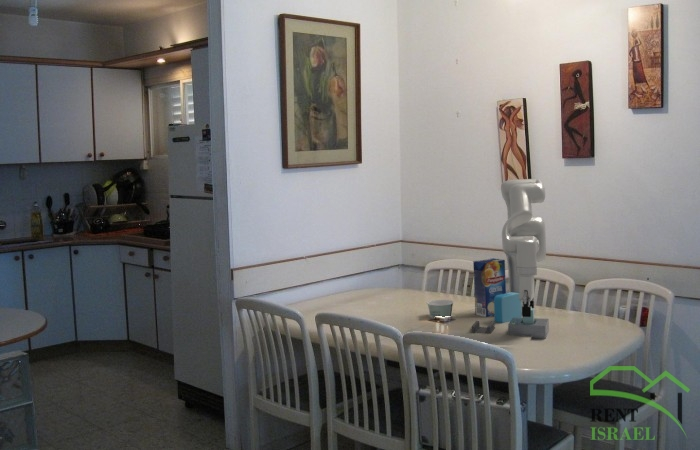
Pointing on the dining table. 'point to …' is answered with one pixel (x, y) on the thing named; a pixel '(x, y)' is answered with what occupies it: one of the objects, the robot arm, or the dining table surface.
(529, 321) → the teal plug
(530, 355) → the dining table surface
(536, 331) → the port block
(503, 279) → the juice carton
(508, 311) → the data package
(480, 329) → the bracket
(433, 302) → the food container
